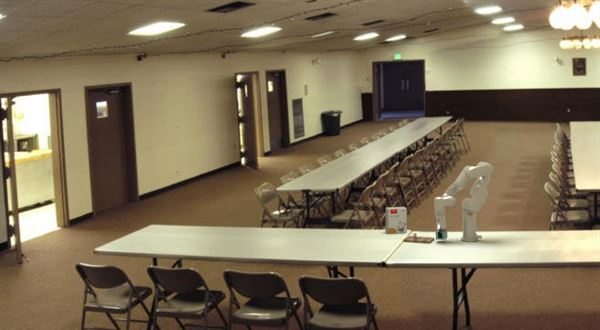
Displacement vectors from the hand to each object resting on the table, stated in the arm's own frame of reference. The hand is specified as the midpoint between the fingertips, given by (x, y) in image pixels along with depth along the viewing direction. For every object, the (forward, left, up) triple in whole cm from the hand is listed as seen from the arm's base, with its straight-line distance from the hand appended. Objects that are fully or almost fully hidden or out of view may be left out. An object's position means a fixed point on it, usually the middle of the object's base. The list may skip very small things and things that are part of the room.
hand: (441, 236), depth 530 cm
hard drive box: (+42, -22, -4) cm, 48 cm away
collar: (0, 0, -1) cm, 1 cm away
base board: (+17, +1, -4) cm, 18 cm away
